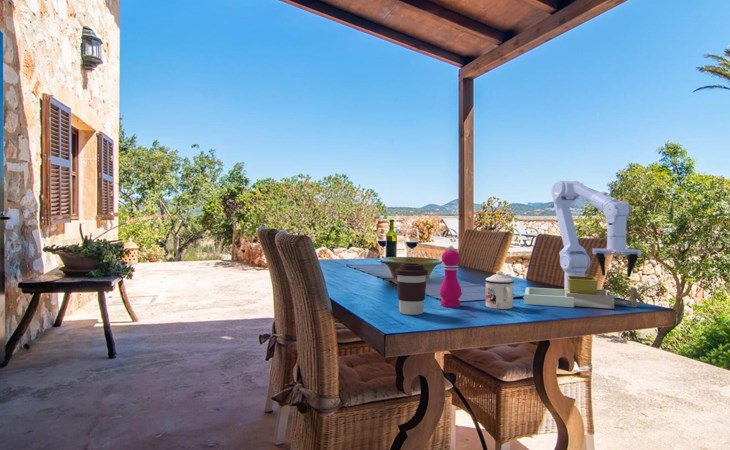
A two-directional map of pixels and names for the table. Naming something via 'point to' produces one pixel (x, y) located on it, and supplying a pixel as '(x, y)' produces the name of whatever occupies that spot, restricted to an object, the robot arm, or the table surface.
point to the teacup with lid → (499, 291)
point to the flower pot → (582, 284)
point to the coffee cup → (411, 288)
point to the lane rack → (547, 297)
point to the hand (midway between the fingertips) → (616, 275)
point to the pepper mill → (450, 279)
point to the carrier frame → (601, 299)
